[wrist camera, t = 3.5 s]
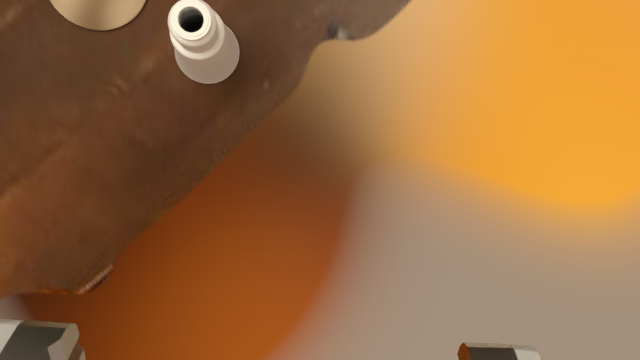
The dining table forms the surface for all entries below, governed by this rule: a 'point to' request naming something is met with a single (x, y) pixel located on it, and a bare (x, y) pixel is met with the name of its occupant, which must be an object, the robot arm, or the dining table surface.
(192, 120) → the dining table surface
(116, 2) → the coaster free
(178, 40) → the cosmetic bottle
